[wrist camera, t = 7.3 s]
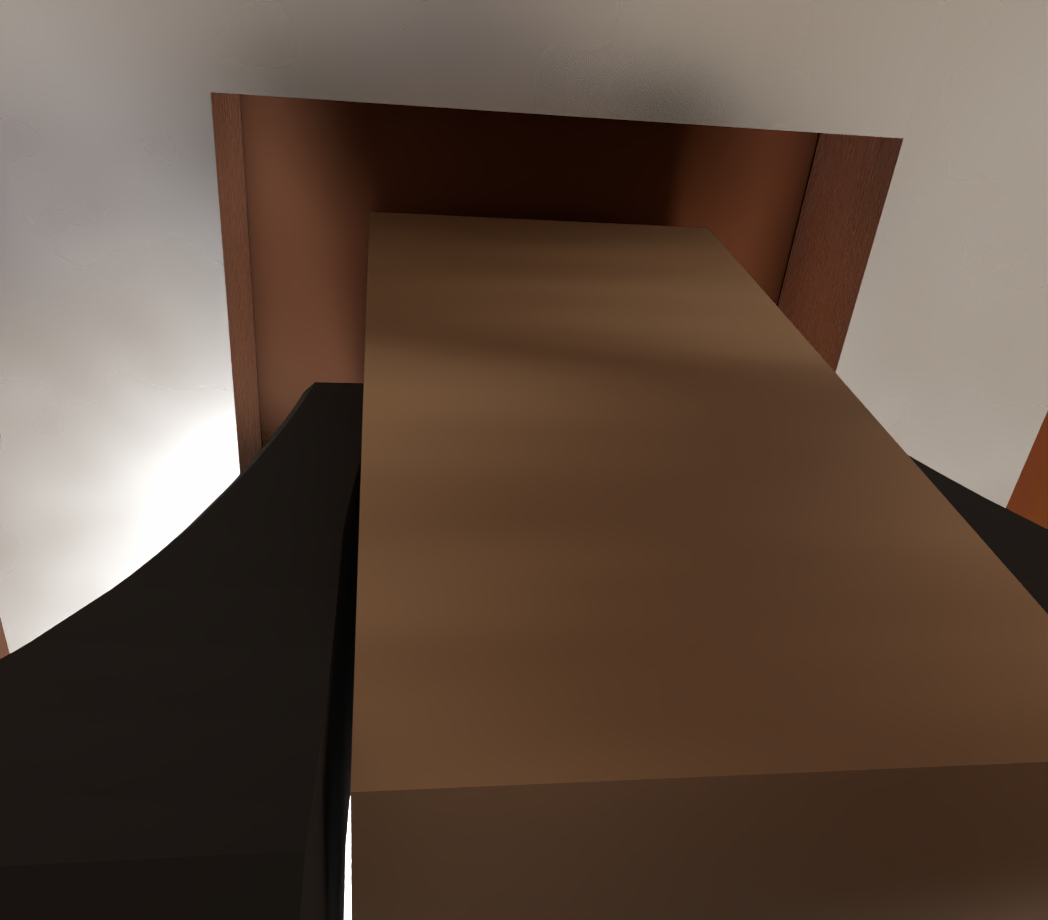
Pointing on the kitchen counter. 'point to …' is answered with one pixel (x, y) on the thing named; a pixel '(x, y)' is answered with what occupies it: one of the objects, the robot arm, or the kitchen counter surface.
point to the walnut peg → (664, 607)
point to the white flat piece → (493, 85)
